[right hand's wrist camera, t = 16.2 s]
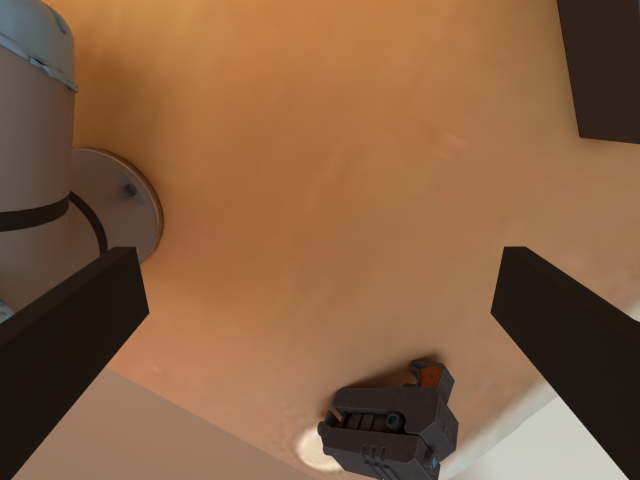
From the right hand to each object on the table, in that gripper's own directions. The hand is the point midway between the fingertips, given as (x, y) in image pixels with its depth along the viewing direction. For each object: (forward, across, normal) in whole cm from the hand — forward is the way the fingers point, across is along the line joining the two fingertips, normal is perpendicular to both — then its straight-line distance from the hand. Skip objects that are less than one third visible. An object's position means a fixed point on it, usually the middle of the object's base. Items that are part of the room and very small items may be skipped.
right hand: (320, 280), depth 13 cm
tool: (+29, -9, +33) cm, 45 cm away
